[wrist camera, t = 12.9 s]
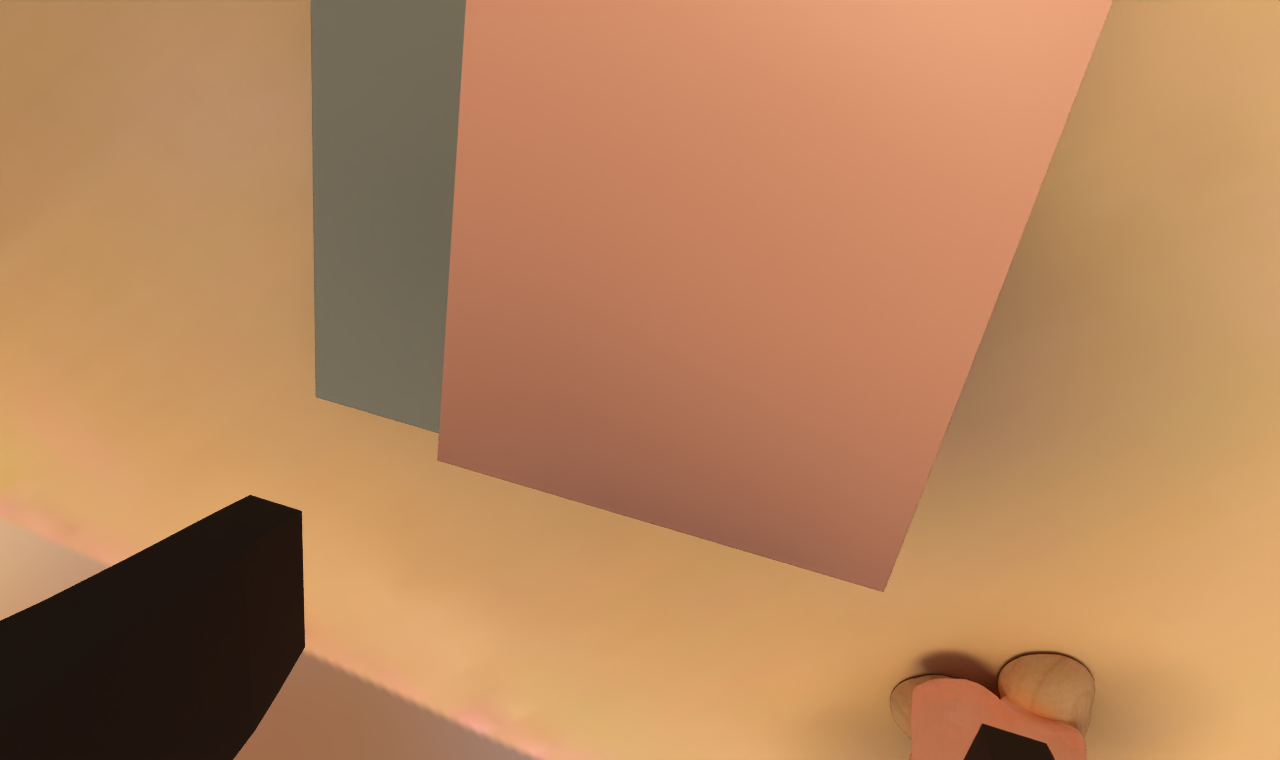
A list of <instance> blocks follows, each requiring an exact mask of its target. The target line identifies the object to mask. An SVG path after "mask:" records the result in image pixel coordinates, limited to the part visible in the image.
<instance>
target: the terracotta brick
mask: <svg viewBox="0 0 1280 760" xmlns="http://www.w3.org/2000/svg"><path fill="white" fill-rule="evenodd" d="M1112 2H1113V0H466V10H465V26H464V42H463V58H462V75H461V91H460V107H459V123H458V139H457V155H456V171H455V187H454V203H453V219H452V235H451V251H450V267H449V283H448V299H447V315H446V331H445V348H444V364H443V380H442V396H441V412H440V428H439V444H438V461H441V462H445V463H448V464H451V465H455V466H458V467H462V468H465V469H468V470H472V471H475V472H479V473H482V474H485V475H489V476H492V477H496V478H499V479H502V480H506V481H509V482H512V483H516V484H519V485H523V486H526V487H529V488H533V489H536V490H540V491H543V492H546V493H550V494H553V495H556V496H560V497H563V498H567V499H570V500H573V501H577V502H580V503H584V504H587V505H590V506H594V507H597V508H600V509H604V510H607V511H611V512H614V513H617V514H621V515H624V516H628V517H631V518H634V519H638V520H641V521H645V522H648V523H651V524H655V525H658V526H661V527H665V528H668V529H672V530H675V531H678V532H682V533H685V534H689V535H692V536H695V537H699V538H702V539H705V540H709V541H712V542H716V543H719V544H722V545H726V546H729V547H733V548H736V549H739V550H743V551H746V552H750V553H753V554H756V555H760V556H763V557H766V558H770V559H773V560H777V561H780V562H783V563H787V564H790V565H794V566H797V567H800V568H804V569H807V570H810V571H814V572H817V573H821V574H824V575H827V576H831V577H834V578H838V579H841V580H844V581H848V582H851V583H855V584H858V585H861V586H865V587H868V588H871V589H875V590H878V591H882V592H884V590H885V587H886V585H887V582H888V579H889V577H890V574H891V572H892V569H893V567H894V564H895V561H896V559H897V556H898V554H899V551H900V549H901V546H902V543H903V541H904V538H905V536H906V533H907V530H908V528H909V525H910V523H911V520H912V518H913V515H914V512H915V510H916V507H917V505H918V502H919V500H920V497H921V494H922V492H923V489H924V487H925V484H926V481H927V479H928V476H929V474H930V471H931V469H932V466H933V463H934V461H935V458H936V456H937V453H938V451H939V448H940V445H941V443H942V440H943V438H944V435H945V432H946V430H947V427H948V425H949V422H950V420H951V417H952V414H953V412H954V409H955V407H956V404H957V402H958V399H959V396H960V394H961V391H962V389H963V386H964V384H965V381H966V378H967V376H968V373H969V371H970V368H971V365H972V363H973V360H974V358H975V355H976V353H977V350H978V347H979V345H980V342H981V340H982V337H983V335H984V332H985V329H986V327H987V324H988V322H989V319H990V316H991V314H992V311H993V309H994V306H995V304H996V301H997V298H998V296H999V293H1000V291H1001V288H1002V286H1003V283H1004V280H1005V278H1006V275H1007V273H1008V270H1009V267H1010V265H1011V262H1012V260H1013V257H1014V255H1015V252H1016V249H1017V247H1018V244H1019V242H1020V239H1021V237H1022V234H1023V231H1024V229H1025V226H1026V224H1027V221H1028V218H1029V216H1030V213H1031V211H1032V208H1033V206H1034V203H1035V200H1036V198H1037V195H1038V193H1039V190H1040V188H1041V185H1042V182H1043V180H1044V177H1045V175H1046V172H1047V170H1048V167H1049V164H1050V162H1051V159H1052V157H1053V154H1054V151H1055V149H1056V146H1057V144H1058V141H1059V139H1060V136H1061V133H1062V131H1063V128H1064V126H1065V123H1066V121H1067V118H1068V115H1069V113H1070V110H1071V108H1072V105H1073V102H1074V100H1075V97H1076V95H1077V92H1078V90H1079V87H1080V84H1081V82H1082V79H1083V77H1084V74H1085V72H1086V69H1087V66H1088V64H1089V61H1090V59H1091V56H1092V53H1093V51H1094V48H1095V46H1096V43H1097V41H1098V38H1099V35H1100V33H1101V30H1102V28H1103V25H1104V23H1105V20H1106V17H1107V15H1108V12H1109V10H1110V7H1111V5H1112Z"/></svg>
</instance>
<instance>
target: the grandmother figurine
mask: <svg viewBox="0 0 1280 760" xmlns="http://www.w3.org/2000/svg"><path fill="white" fill-rule="evenodd" d="M998 690H999V693H1000V697H1001V699H999V698H998V697H997V696H996V695H995V694H993V693H992V692H990V691H989V690H988V689H987V688H985V687H983V686H982V685H980V684H978V683H976V682H972V681H969V680H966V679H954V678H951V677H948V676H942V675H926V676H921V677H917V678H913V679H909V680H906V681H904V682H902V683H900V684H899V685H898V686H897V687H896V688H895V689H894V690H893V692H892V694H891V697H890V708H891V711H892V714H893V717H894V719H895V721H896V722H897V724H898V725H899V726H900V727H901V729H902V730H903V731H904V732H905V733H906V734H907V735H908V737H909V738H910V739H911V740H912V753H911V755H910V757H909V760H964V758H965V756H966V754H967V752H968V750H969V748H970V746H971V744H972V742H973V740H974V738H975V736H976V734H977V732H978V730H979V728H980V726H981V724H982V723H983V724H986V725H989V726H992V727H996V728H999V729H1002V730H1005V731H1008V732H1012V733H1015V734H1018V735H1021V736H1024V737H1028V738H1031V739H1034V740H1037V741H1040V742H1044V743H1046V744H1047V745H1048V747H1049V749H1050V751H1051V752H1052V754H1053V756H1054V758H1055V760H1086V745H1085V741H1084V737H1085V734H1086V731H1087V728H1088V724H1089V719H1090V714H1091V708H1092V703H1093V699H1094V692H1095V688H1094V680H1093V678H1092V676H1091V675H1090V673H1089V672H1088V670H1087V669H1086V667H1085V666H1083V665H1082V664H1080V663H1079V662H1077V661H1076V660H1073V659H1071V658H1069V657H1065V656H1062V655H1056V654H1033V655H1026V656H1022V657H1019V658H1017V659H1015V660H1013V661H1011V662H1010V663H1008V664H1007V665H1006V666H1005V667H1004V668H1003V669H1002V671H1001V672H1000V675H999V678H998Z"/></svg>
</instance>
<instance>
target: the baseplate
mask: <svg viewBox="0 0 1280 760" xmlns="http://www.w3.org/2000/svg"><path fill="white" fill-rule="evenodd" d="M465 10H466V0H311V64H312V142H313V221H314V299H315V378H316V397H317V398H321V399H324V400H328V401H331V402H334V403H338V404H341V405H345V406H348V407H351V408H355V409H358V410H361V411H365V412H368V413H372V414H375V415H378V416H382V417H385V418H389V419H392V420H395V421H399V422H402V423H406V424H409V425H412V426H416V427H419V428H423V429H426V430H429V431H433V432H436V433H439V428H440V412H441V396H442V380H443V364H444V348H445V331H446V315H447V299H448V283H449V267H450V251H451V235H452V219H453V203H454V187H455V171H456V155H457V139H458V123H459V107H460V91H461V75H462V58H463V42H464V26H465Z"/></svg>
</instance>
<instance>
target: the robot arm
mask: <svg viewBox="0 0 1280 760" xmlns="http://www.w3.org/2000/svg"><path fill="white" fill-rule="evenodd" d="M304 648H305V628H304V587H303V545H302V511H300V510H297V509H294V508H290V507H287V506H284V505H281V504H278V503H274V502H271V501H268V500H265V499H261V498H258V497H255V496H252V495H249V496H247V497H245V498H243V499H241V500H239V501H237V502H235V503H233V504H231V505H229V506H227V507H225V508H223V509H221V510H219V511H217V512H215V513H213V514H211V515H209V516H207V517H206V518H204V519H202V520H200V521H198V522H196V523H194V524H192V525H190V526H188V527H186V528H185V529H183V530H181V531H179V532H177V533H175V534H173V535H171V536H169V537H167V538H165V539H164V540H162V541H160V542H158V543H156V544H154V545H152V546H150V547H148V548H146V549H144V550H143V551H141V552H139V553H137V554H135V555H133V556H131V557H129V558H127V559H125V560H123V561H121V562H119V563H117V564H115V565H113V566H111V567H109V568H107V569H105V570H103V571H101V572H100V573H98V574H96V575H94V576H92V577H90V578H88V579H86V580H84V581H82V582H80V583H78V584H76V585H74V586H72V587H70V588H68V589H66V590H64V591H62V592H60V593H58V594H56V595H54V596H52V597H50V598H48V599H46V600H44V601H42V602H40V603H38V604H36V605H33V606H31V607H29V608H27V609H25V610H23V611H20V612H18V613H16V614H14V615H12V616H10V617H8V618H5V619H3V620H1V621H0V760H233V759H234V758H235V756H236V755H237V754H238V752H239V751H240V750H241V748H242V747H243V746H244V744H245V743H246V741H247V740H248V739H249V738H250V736H251V735H252V734H253V732H254V731H255V730H256V728H257V726H258V724H259V723H260V721H261V720H262V718H263V717H264V715H265V713H266V712H267V710H268V709H269V707H270V705H271V704H272V702H273V700H274V699H275V697H276V696H277V694H278V692H279V691H280V689H281V687H282V685H283V684H284V682H285V680H286V678H287V677H288V675H289V673H290V672H291V670H292V668H293V667H294V665H295V663H296V661H297V660H298V658H299V656H300V654H301V653H302V651H303V649H304ZM964 760H1055V758H1054V756H1053V754H1052V752H1051V751H1050V749H1049V747H1048V745H1047V744H1046V743H1044V742H1040V741H1037V740H1034V739H1031V738H1028V737H1024V736H1021V735H1018V734H1015V733H1012V732H1008V731H1005V730H1002V729H999V728H996V727H992V726H989V725H986V724H983V723H982V724H981V726H980V728H979V730H978V732H977V734H976V736H975V738H974V740H973V742H972V744H971V746H970V748H969V750H968V752H967V754H966V756H965V758H964Z"/></svg>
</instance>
